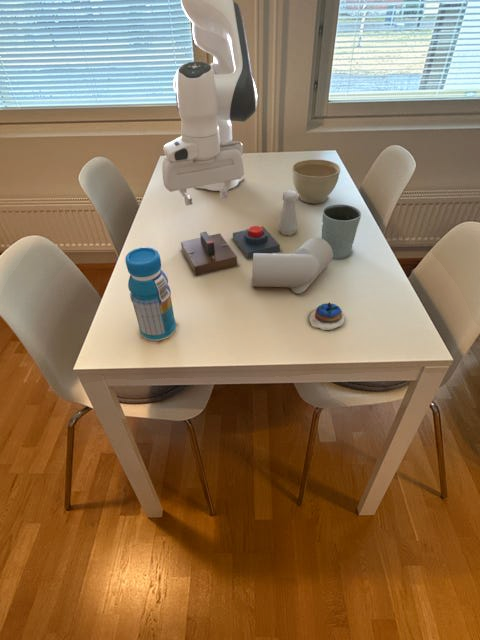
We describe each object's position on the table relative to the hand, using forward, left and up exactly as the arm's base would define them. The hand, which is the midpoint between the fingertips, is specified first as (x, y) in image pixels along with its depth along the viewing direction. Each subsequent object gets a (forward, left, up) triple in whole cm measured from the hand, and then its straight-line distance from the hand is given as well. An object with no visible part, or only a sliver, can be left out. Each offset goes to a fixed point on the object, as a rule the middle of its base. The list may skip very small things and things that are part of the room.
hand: (206, 200), depth 103 cm
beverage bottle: (+24, -21, -17) cm, 36 cm away
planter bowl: (-22, +45, -17) cm, 53 cm away
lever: (0, -1, -14) cm, 14 cm away
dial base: (0, -1, -17) cm, 17 cm away
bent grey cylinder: (+18, +15, -17) cm, 29 cm away
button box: (-1, +14, -17) cm, 22 cm away
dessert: (+37, +16, -17) cm, 43 cm away
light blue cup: (+11, +34, -17) cm, 40 cm away
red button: (-1, +14, -13) cm, 19 cm away
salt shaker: (-4, +26, -17) cm, 31 cm away
